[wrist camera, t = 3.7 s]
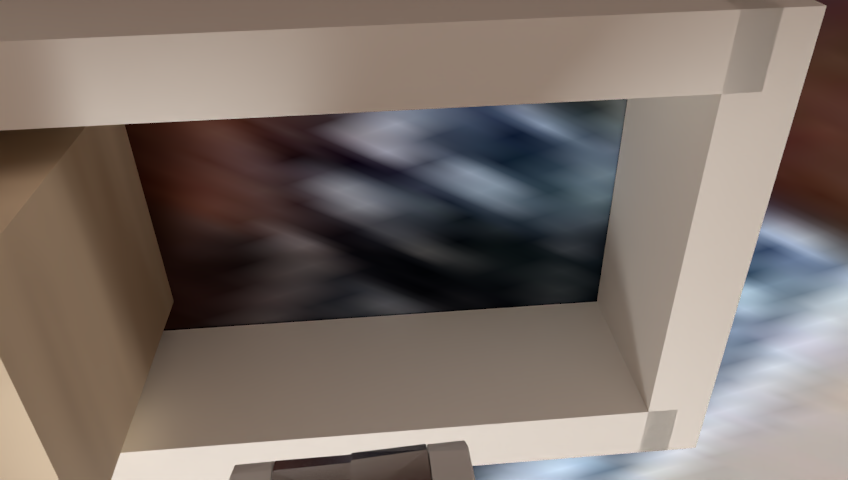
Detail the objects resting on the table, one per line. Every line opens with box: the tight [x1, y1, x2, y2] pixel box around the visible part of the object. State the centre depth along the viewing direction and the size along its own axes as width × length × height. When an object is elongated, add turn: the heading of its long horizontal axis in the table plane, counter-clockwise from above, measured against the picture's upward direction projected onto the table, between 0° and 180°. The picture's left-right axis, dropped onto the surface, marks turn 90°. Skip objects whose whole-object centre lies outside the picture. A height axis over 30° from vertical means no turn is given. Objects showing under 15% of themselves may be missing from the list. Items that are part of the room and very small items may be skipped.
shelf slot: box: [0, 0, 827, 480], centre depth 13 cm, size 19×9×4 cm, turn 91°
